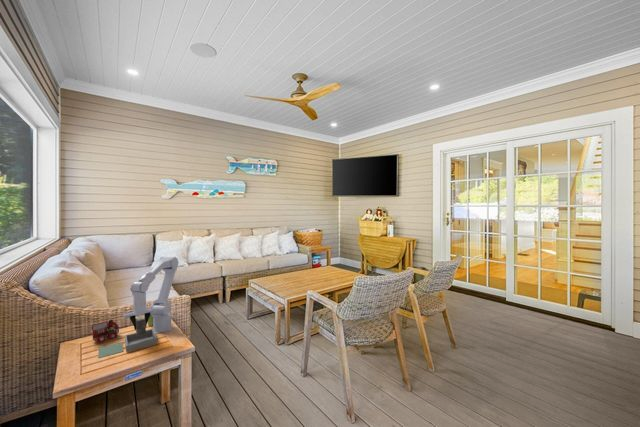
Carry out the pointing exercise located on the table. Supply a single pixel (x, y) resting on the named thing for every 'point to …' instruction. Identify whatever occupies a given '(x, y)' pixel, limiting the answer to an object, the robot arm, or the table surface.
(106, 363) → the table surface
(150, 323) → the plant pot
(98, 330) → the toy fire truck
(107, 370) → the table surface
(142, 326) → the box
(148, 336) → the grey tray
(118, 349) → the mat
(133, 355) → the table surface
